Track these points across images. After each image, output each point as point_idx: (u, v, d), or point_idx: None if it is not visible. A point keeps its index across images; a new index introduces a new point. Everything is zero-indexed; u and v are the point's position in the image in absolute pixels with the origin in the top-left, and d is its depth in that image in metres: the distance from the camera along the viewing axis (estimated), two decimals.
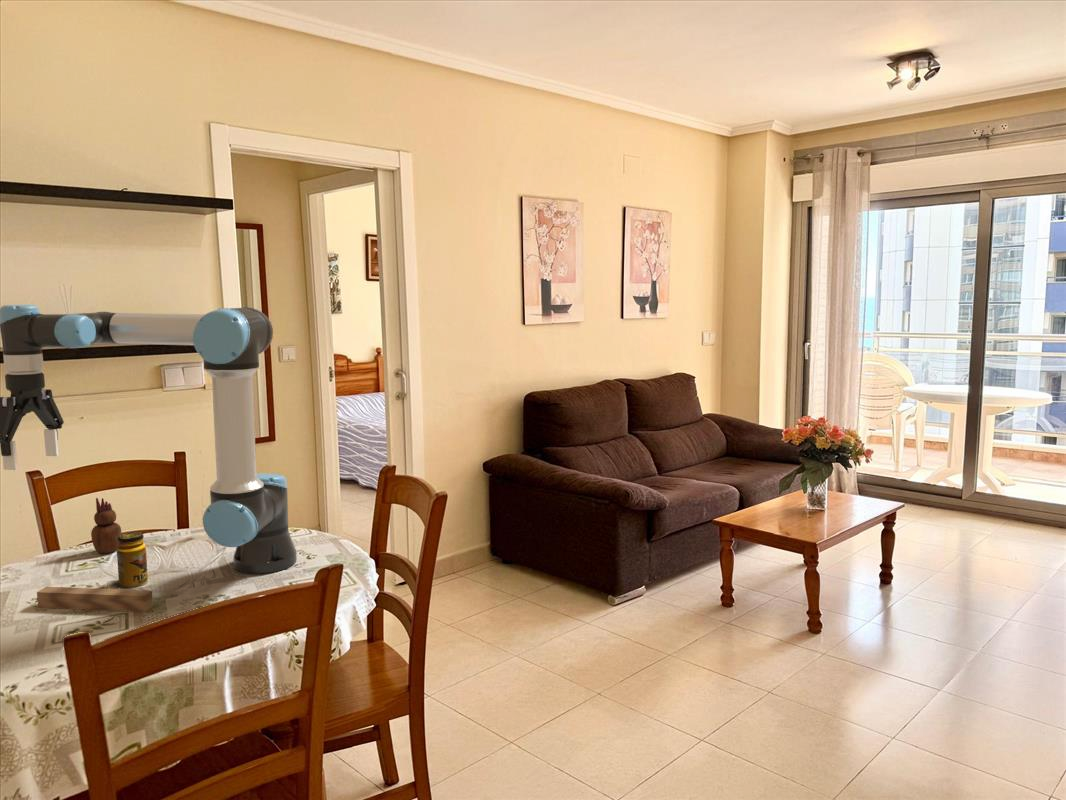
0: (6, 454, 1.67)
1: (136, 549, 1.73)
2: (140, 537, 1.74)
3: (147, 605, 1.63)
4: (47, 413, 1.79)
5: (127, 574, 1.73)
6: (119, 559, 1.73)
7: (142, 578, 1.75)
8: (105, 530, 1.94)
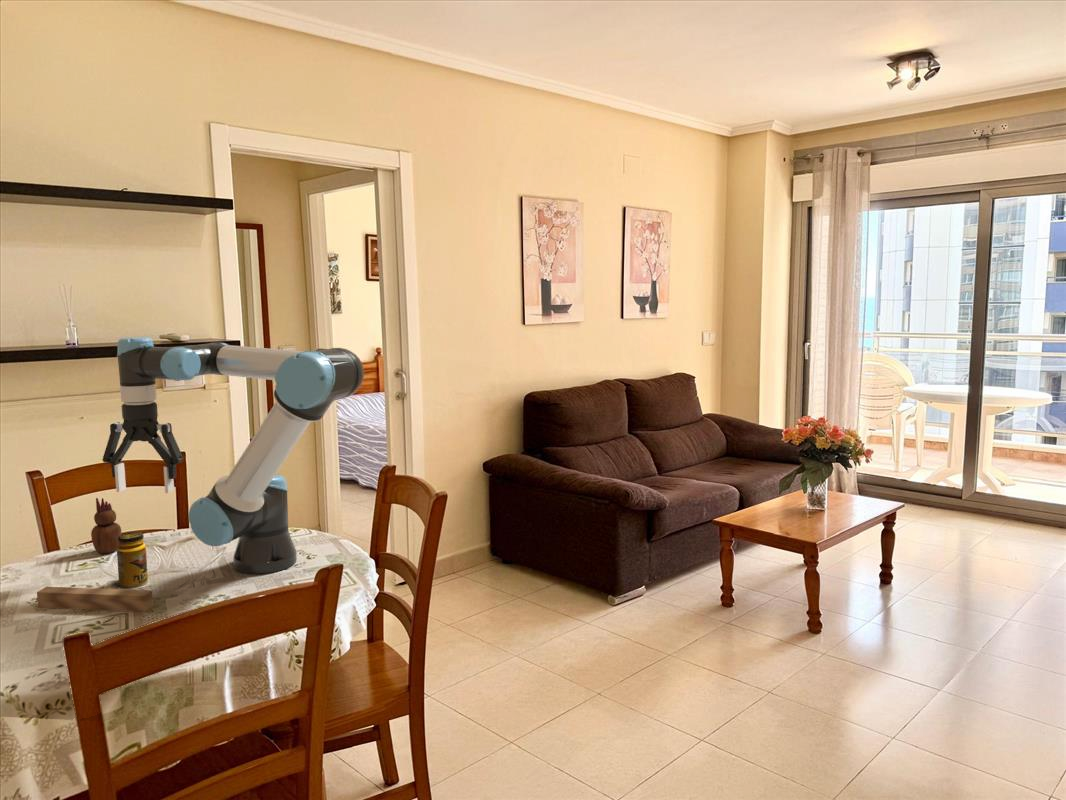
0: None
1: (136, 549, 1.73)
2: (140, 537, 1.74)
3: (147, 605, 1.63)
4: (157, 447, 1.79)
5: (127, 574, 1.73)
6: (119, 559, 1.73)
7: (142, 578, 1.75)
8: (105, 530, 1.94)
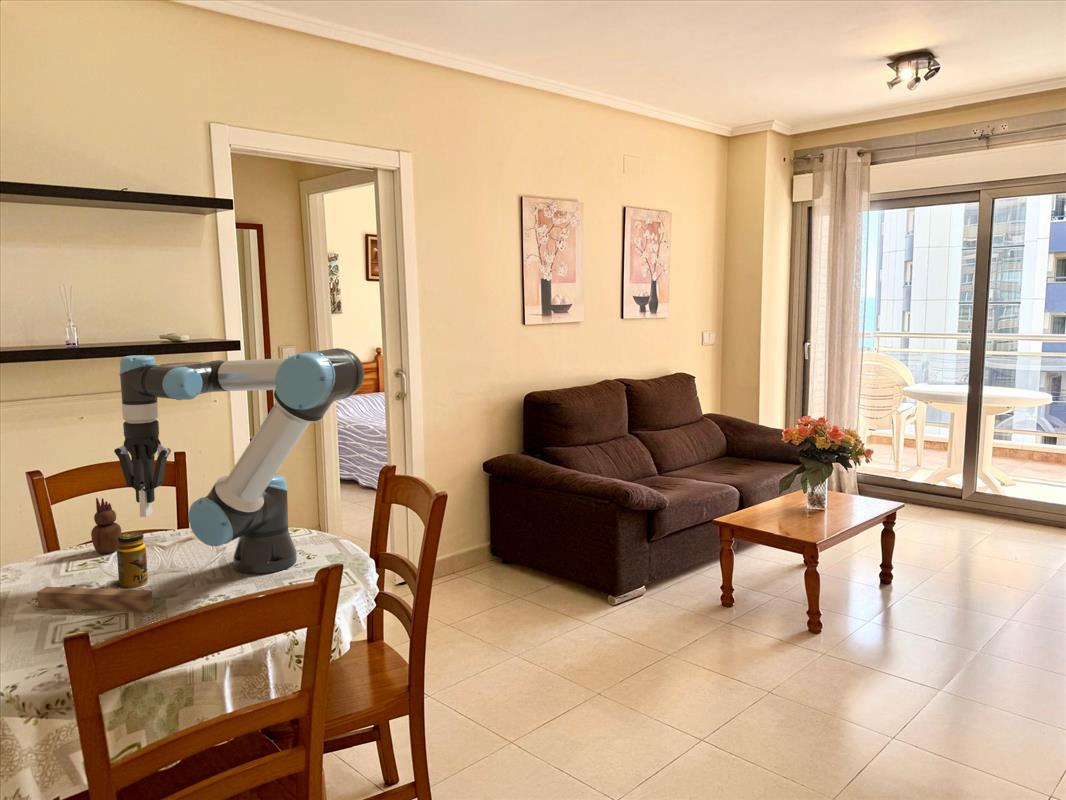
0: None
1: (136, 549, 1.73)
2: (140, 537, 1.74)
3: (147, 605, 1.63)
4: (146, 469, 1.80)
5: (127, 574, 1.73)
6: (119, 559, 1.73)
7: (142, 578, 1.75)
8: (105, 530, 1.94)
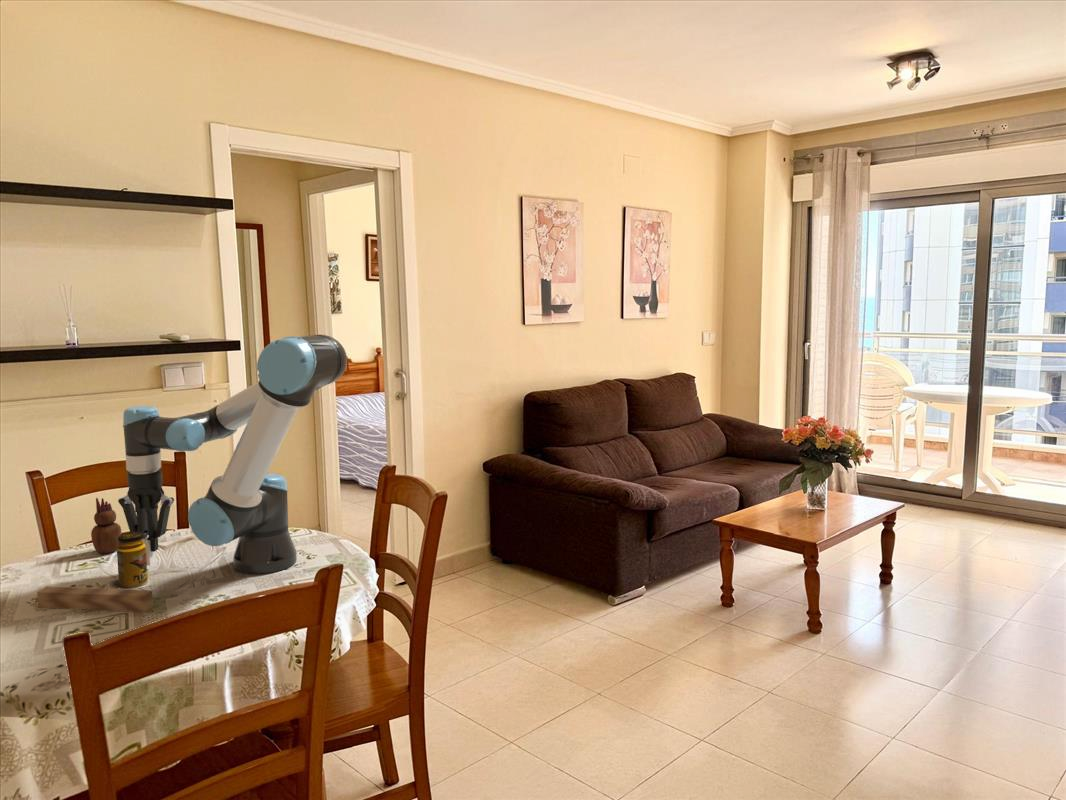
0: None
1: (136, 549, 1.73)
2: (140, 537, 1.74)
3: (147, 605, 1.63)
4: (150, 518, 1.82)
5: (127, 574, 1.73)
6: (119, 559, 1.73)
7: (142, 578, 1.75)
8: (105, 530, 1.94)
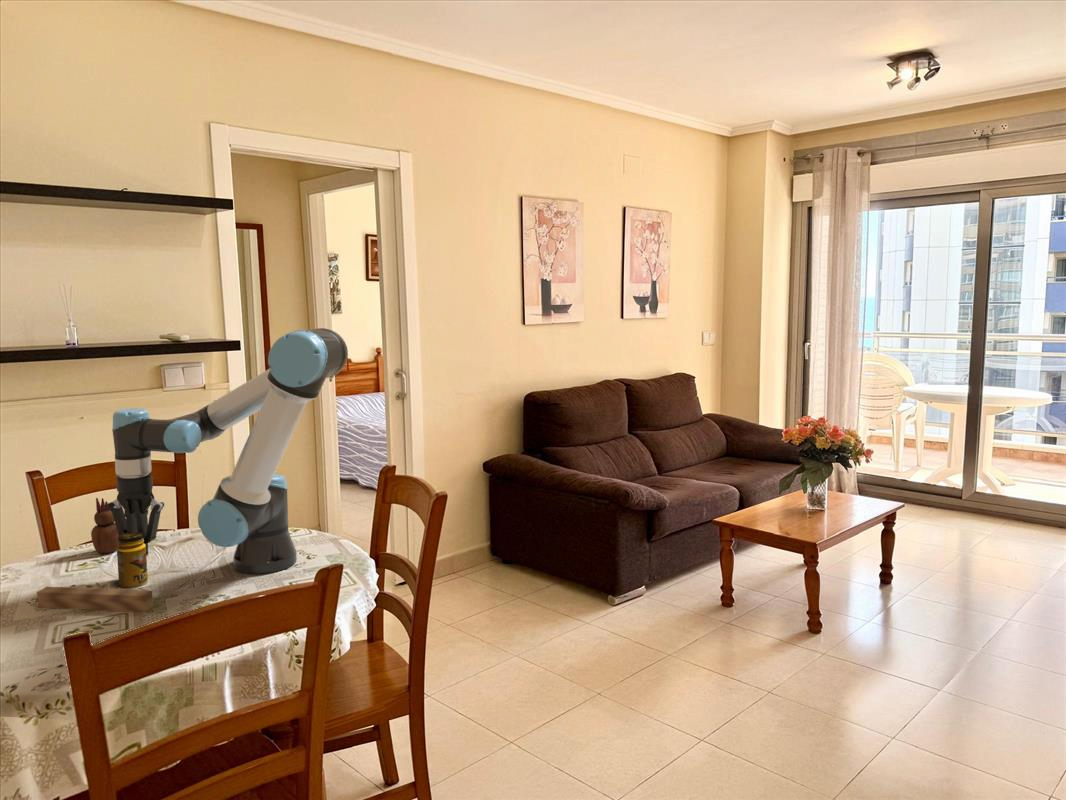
0: None
1: (136, 549, 1.73)
2: (140, 537, 1.74)
3: (147, 605, 1.63)
4: (139, 523, 1.78)
5: (127, 574, 1.73)
6: (119, 559, 1.73)
7: (142, 578, 1.75)
8: (105, 530, 1.94)
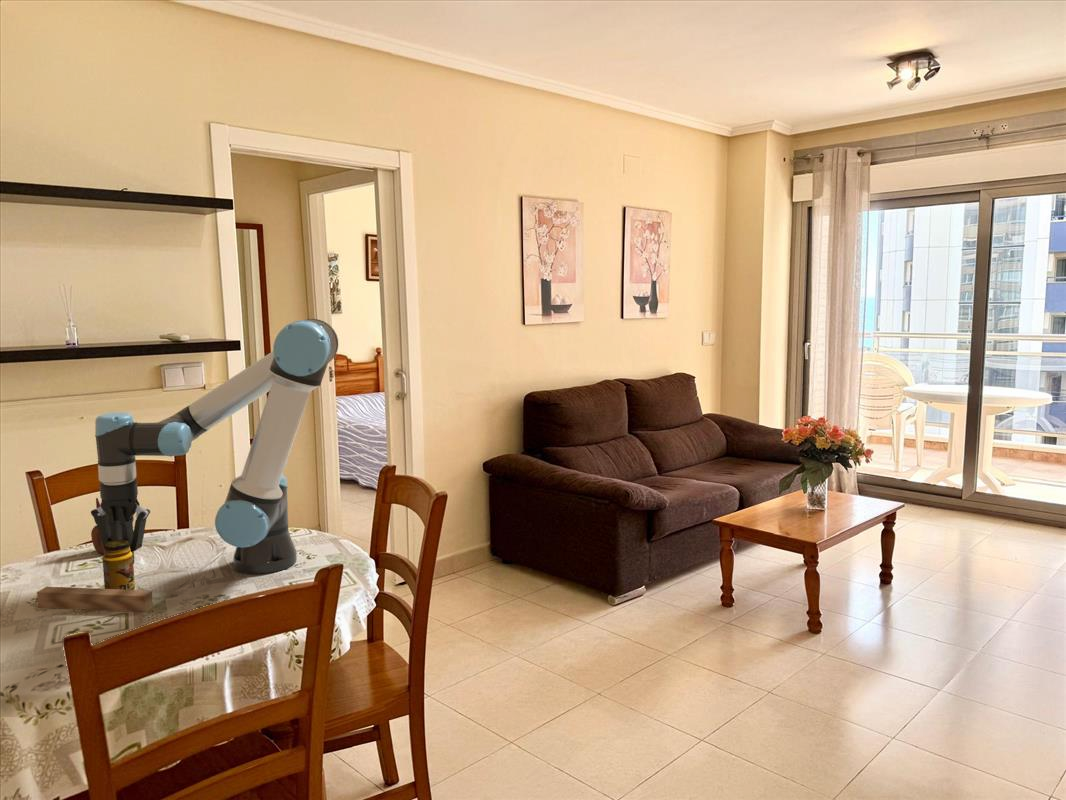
0: None
1: (122, 558, 1.67)
2: (126, 545, 1.69)
3: (147, 605, 1.63)
4: (124, 531, 1.72)
5: (113, 583, 1.67)
6: (105, 568, 1.67)
7: (129, 587, 1.69)
8: None
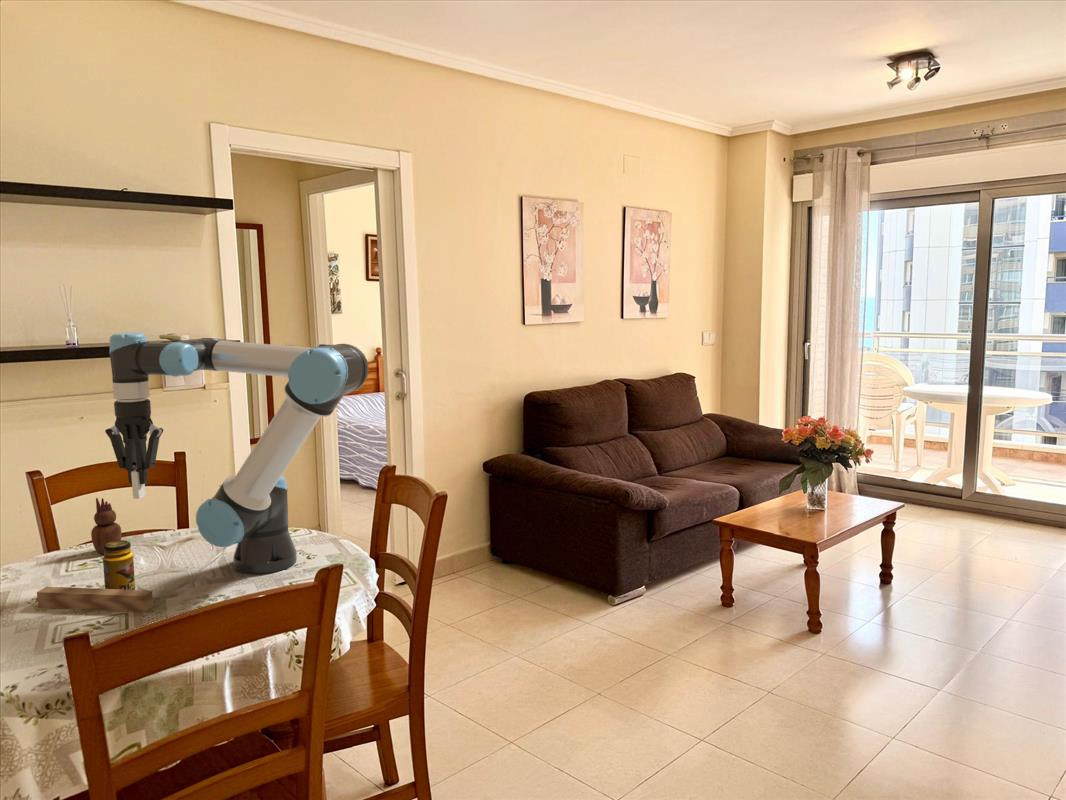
0: None
1: (122, 558, 1.67)
2: (127, 546, 1.69)
3: (147, 605, 1.63)
4: (138, 449, 1.76)
5: (113, 584, 1.67)
6: (105, 568, 1.67)
7: (129, 588, 1.69)
8: (105, 530, 1.94)
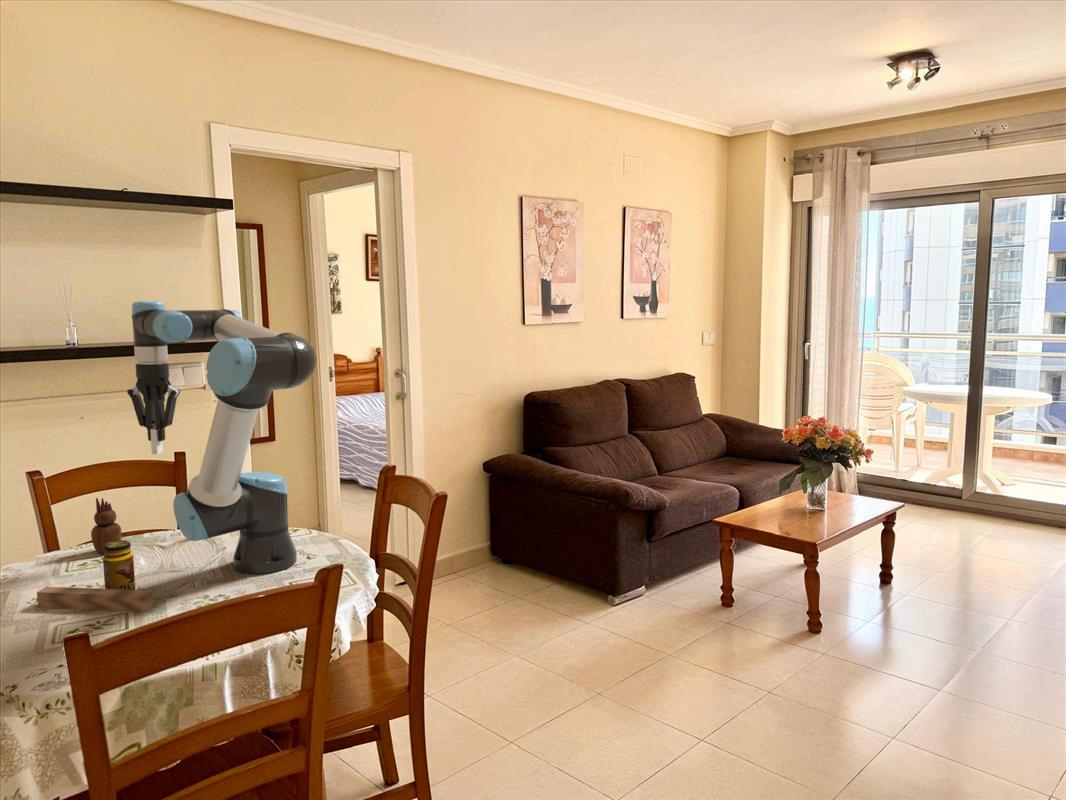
0: None
1: (122, 558, 1.67)
2: (127, 546, 1.69)
3: (147, 605, 1.63)
4: (157, 408, 1.91)
5: (113, 584, 1.67)
6: (105, 568, 1.67)
7: (129, 588, 1.69)
8: (105, 530, 1.94)
